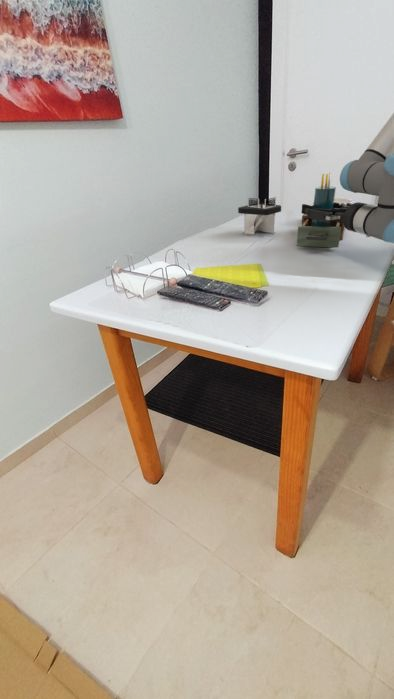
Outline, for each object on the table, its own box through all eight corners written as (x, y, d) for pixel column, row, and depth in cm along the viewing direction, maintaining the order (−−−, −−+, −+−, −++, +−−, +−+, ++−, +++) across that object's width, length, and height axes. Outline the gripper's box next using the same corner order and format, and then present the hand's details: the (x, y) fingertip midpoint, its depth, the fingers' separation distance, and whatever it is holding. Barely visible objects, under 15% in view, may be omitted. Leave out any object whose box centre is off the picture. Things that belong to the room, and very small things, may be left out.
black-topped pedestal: (210, 236, 133) (208, 200, 126) (256, 223, 146) (256, 190, 139) (263, 249, 113) (265, 206, 106) (311, 232, 126) (315, 194, 119)
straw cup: (330, 235, 113) (338, 170, 102) (328, 239, 108) (337, 173, 98) (311, 234, 115) (318, 171, 105) (309, 239, 110) (315, 173, 100)
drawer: (337, 251, 101) (340, 231, 98) (294, 249, 106) (295, 230, 103) (341, 235, 115) (343, 217, 112) (303, 234, 120) (304, 217, 117)
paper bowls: (351, 225, 129) (354, 203, 125) (309, 225, 134) (311, 204, 130) (351, 217, 141) (354, 196, 136) (312, 217, 146) (315, 197, 141)
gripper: (328, 238, 92) (285, 223, 110) (390, 227, 96) (339, 214, 115) (332, 209, 88) (287, 198, 106) (397, 199, 92) (342, 190, 111)
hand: (314, 207), depth 111 cm, fingers open, 8 cm apart
